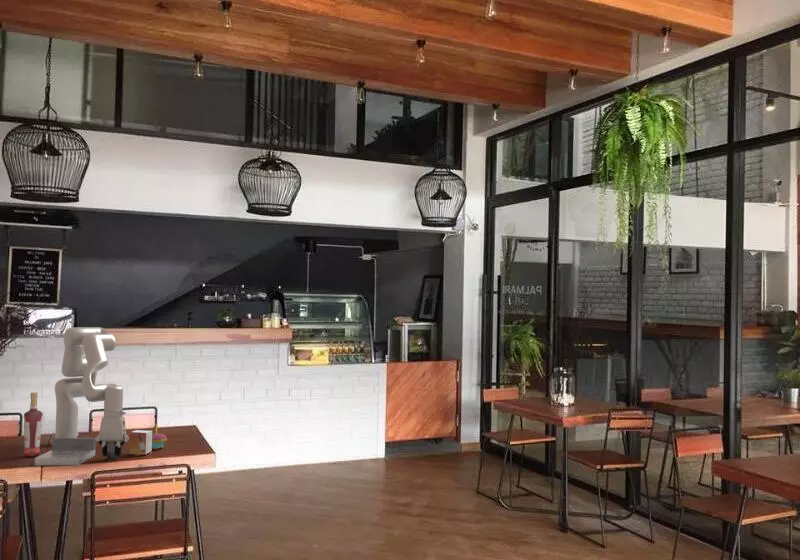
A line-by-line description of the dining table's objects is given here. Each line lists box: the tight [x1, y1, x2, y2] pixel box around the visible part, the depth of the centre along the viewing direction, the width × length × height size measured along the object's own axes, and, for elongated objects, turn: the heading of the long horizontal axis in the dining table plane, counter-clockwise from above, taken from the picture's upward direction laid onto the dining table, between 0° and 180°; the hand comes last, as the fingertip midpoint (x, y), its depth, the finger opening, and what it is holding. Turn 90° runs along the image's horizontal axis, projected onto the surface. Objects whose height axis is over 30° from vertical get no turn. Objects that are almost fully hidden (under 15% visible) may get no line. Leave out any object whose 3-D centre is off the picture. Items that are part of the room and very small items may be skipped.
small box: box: [128, 429, 153, 454], centre depth 305 cm, size 8×6×10 cm
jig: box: [34, 437, 97, 466], centre depth 291 cm, size 18×18×8 cm
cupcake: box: [152, 423, 168, 448], centre depth 317 cm, size 9×8×12 cm
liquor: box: [22, 392, 44, 458], centre depth 298 cm, size 7×7×28 cm
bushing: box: [105, 441, 118, 461], centre depth 293 cm, size 4×4×8 cm
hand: (111, 455), depth 293 cm, fingers open, 4 cm apart
